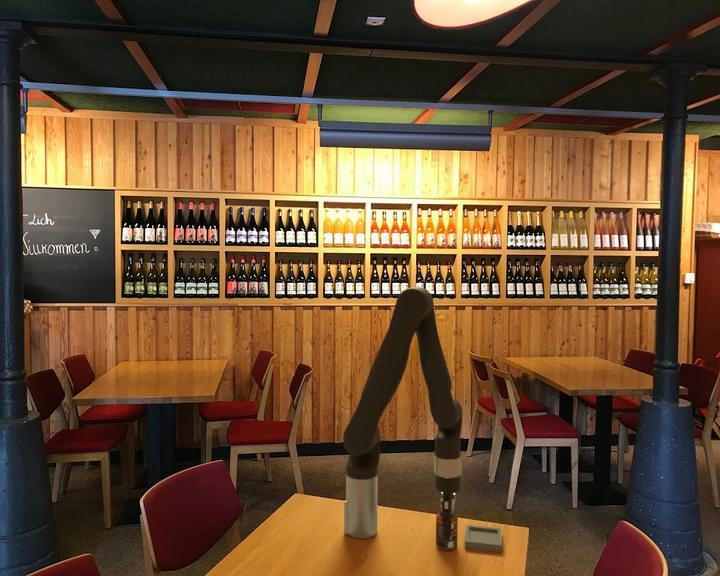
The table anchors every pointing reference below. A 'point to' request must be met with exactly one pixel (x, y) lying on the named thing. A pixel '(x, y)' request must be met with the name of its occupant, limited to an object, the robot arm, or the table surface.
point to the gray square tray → (483, 538)
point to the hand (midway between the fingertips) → (448, 528)
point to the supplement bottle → (445, 541)
